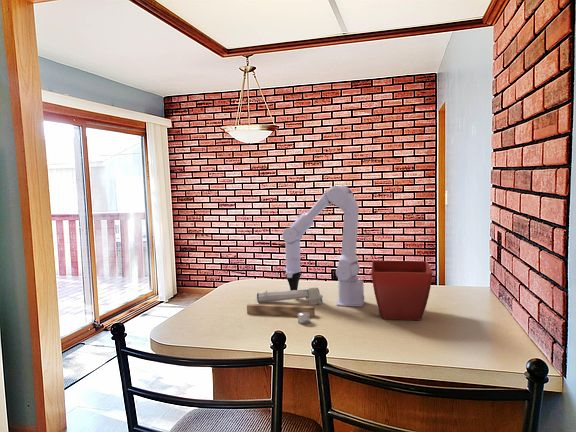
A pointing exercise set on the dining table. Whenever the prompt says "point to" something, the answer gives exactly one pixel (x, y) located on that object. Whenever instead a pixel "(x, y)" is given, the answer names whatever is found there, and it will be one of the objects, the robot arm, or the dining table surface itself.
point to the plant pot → (401, 288)
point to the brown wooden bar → (279, 309)
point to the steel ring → (303, 318)
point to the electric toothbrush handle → (291, 296)
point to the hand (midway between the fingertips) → (293, 291)
